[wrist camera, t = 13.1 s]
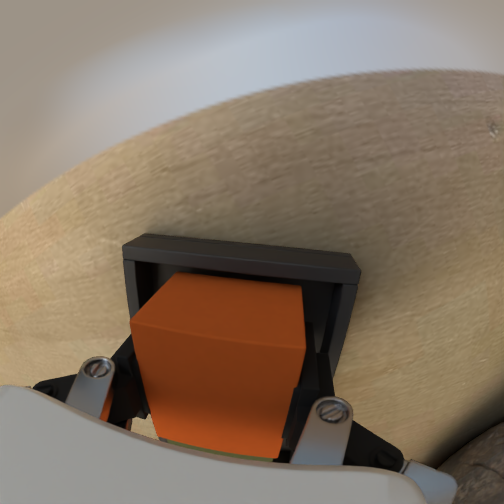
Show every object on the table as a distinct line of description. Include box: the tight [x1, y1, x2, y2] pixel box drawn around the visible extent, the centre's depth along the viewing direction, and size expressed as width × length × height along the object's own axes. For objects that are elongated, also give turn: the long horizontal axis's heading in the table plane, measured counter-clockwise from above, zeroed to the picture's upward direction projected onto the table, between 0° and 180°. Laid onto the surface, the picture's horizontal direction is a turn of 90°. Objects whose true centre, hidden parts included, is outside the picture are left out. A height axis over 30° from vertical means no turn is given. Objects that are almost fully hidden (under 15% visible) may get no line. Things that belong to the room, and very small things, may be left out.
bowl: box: [437, 421, 504, 504], centre depth 10 cm, size 21×21×10 cm
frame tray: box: [122, 234, 361, 464], centre depth 13 cm, size 15×9×2 cm, turn 176°
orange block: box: [130, 272, 306, 458], centre depth 10 cm, size 6×5×4 cm
